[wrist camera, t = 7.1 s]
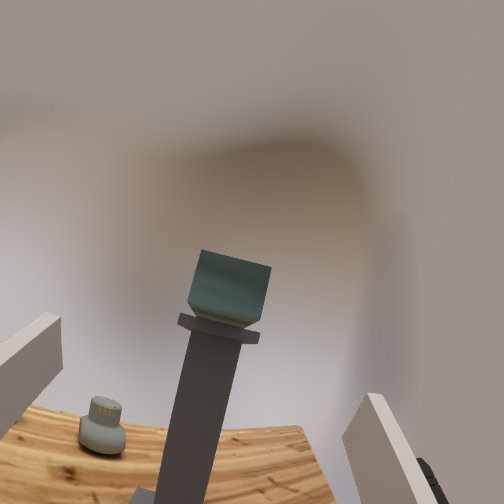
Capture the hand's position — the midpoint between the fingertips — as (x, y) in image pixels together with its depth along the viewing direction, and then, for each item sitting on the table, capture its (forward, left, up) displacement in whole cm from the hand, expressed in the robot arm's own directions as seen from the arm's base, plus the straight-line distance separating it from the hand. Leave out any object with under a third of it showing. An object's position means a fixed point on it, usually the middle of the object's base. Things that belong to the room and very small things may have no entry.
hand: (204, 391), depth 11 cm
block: (-6, +16, +4) cm, 18 cm away
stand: (-7, +20, -24) cm, 32 cm away
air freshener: (-30, +35, -24) cm, 52 cm away
